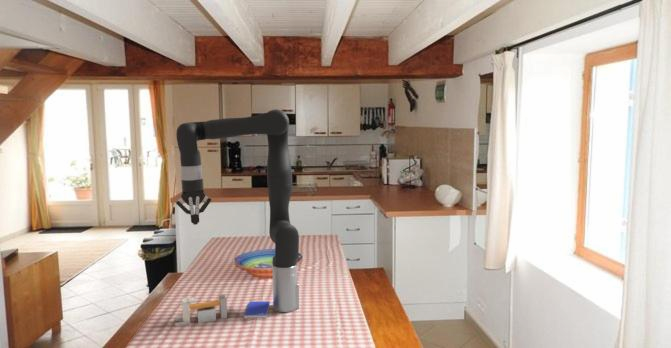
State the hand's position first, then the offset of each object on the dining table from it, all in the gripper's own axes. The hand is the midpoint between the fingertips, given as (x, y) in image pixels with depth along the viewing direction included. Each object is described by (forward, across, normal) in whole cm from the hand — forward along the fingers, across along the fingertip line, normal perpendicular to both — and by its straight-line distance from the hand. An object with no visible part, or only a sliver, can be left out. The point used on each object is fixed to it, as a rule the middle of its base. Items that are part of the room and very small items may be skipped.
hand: (195, 224), depth 174 cm
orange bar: (+28, +1, -11) cm, 30 cm away
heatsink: (+33, 0, -11) cm, 35 cm away
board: (+33, -1, -11) cm, 35 cm away
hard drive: (+35, +19, -8) cm, 41 cm away
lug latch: (+32, -5, -11) cm, 34 cm away
